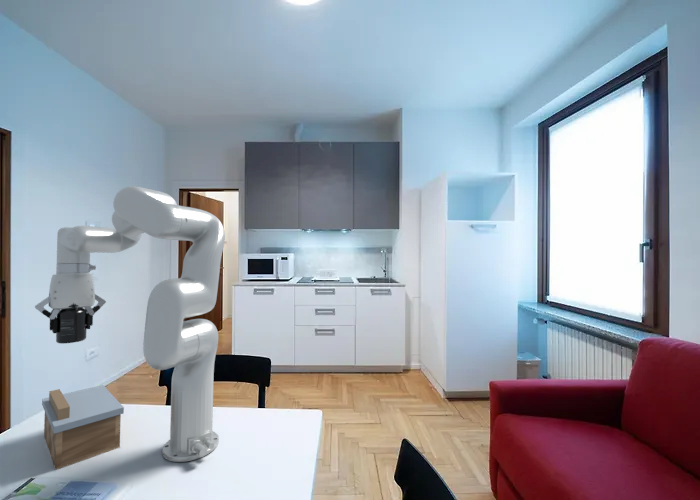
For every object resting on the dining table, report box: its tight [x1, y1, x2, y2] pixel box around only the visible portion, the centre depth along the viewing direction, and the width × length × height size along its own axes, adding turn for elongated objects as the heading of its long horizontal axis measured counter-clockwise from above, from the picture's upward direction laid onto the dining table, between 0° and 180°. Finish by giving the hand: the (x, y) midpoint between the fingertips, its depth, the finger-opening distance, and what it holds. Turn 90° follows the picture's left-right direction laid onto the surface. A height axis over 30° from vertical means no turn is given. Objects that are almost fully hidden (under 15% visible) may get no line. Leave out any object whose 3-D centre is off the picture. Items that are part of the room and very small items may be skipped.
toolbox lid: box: [41, 384, 125, 434], centre depth 84 cm, size 21×13×4 cm, turn 48°
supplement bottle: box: [55, 303, 88, 345], centre depth 97 cm, size 7×7×12 cm
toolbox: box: [43, 412, 122, 471], centre depth 84 cm, size 20×12×8 cm, turn 48°
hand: (71, 329), depth 97 cm, fingers closed on supplement bottle, 6 cm apart
